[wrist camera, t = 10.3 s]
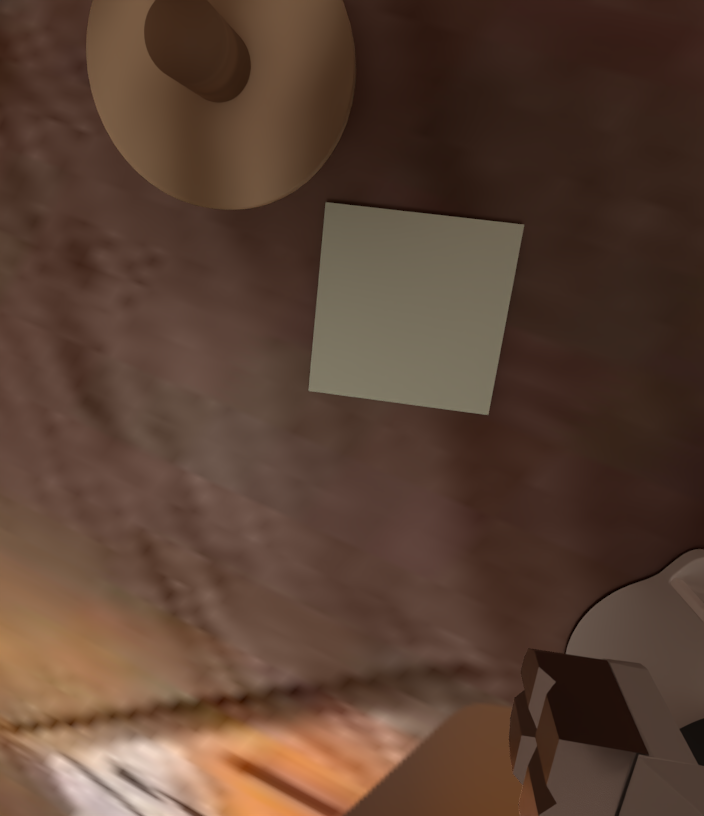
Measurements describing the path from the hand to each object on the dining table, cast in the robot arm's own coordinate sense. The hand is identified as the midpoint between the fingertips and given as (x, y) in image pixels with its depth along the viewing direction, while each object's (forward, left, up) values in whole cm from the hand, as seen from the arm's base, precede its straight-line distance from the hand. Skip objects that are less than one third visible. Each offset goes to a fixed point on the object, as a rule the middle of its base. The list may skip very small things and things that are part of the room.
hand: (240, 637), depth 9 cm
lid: (+8, -12, -22) cm, 26 cm away
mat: (-2, -1, -31) cm, 31 cm away
